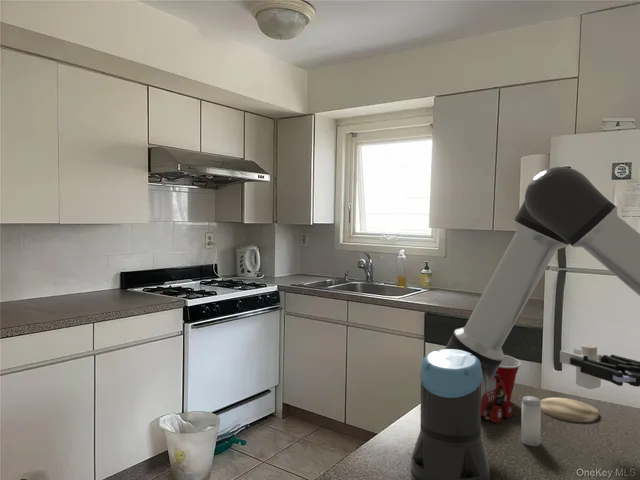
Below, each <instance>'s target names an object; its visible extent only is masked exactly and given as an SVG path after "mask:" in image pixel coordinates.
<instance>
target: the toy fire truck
mask: <svg viewBox="0 0 640 480" xmlns="http://www.w3.org/2000/svg"><path fill="white" fill-rule="evenodd" d="M513 414H514V404H513V402H511V401H510V402H509V401H507V392H506V389H505V385H504V382H503V381H502V380H501V377H500V375H498V374H495V375H494V376H493V378H492V380H491V382H490V384H489V385H488V387H487V389H486V391H485V394H484V396H483V398H482V402H481V417H489V419H490V421H491V422H492V423H495V424H499V423H501V422H502V419H503V417H504V418H507V419H511V417H512V415H513Z"/></svg>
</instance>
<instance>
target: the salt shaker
mask: <svg viewBox="0 0 640 480" xmlns="http://www.w3.org/2000/svg"><path fill="white" fill-rule="evenodd" d="M540 401H541V399H540V398H539V397H536V396H532V395H527V396H523V397H522V401H521V413H520V414H521V416H520V417H521V422H520V423H521V424H520V442H521V443H522V444H523V445H526V446H529V447H538V446H540V445H541V423H542V422H541V420H542V417H541V416H542V413H541V412H542V411H541V404H540Z"/></svg>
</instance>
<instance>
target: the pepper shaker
mask: <svg viewBox="0 0 640 480" xmlns="http://www.w3.org/2000/svg"><path fill="white" fill-rule="evenodd" d="M580 349H581V356H588V359H589V360H594V361H598V360H596V355H597V354H598V347H597V346H596V345H593V344H586V343H584V344H583V343H582V344H581V346H580ZM598 362H600V361H598ZM601 382H602V379H600V378H597V377H594V376H591V375H588V374H585V373H582V372H580V368H578V367H575V384H576V385H577V386H578V387H581V388H584V389H587V390H594V389H598V388H600V387H601V384H602V383H601Z"/></svg>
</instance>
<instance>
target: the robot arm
mask: <svg viewBox="0 0 640 480" xmlns="http://www.w3.org/2000/svg"><path fill="white" fill-rule="evenodd" d="M513 225H514V229H515V233H514V234H513V237H512V239H511V241H510V243H509V244H508V246H507V248H506V250H505V252H504V253H503V254H502V255H503V256H502V257H501V259H500V261H499V263H498V264H497V267H496V268H495V271H494V272H493V273H492V276H491V277H490V279H489V282H488V284H487V285H486V286H485V289H484V290H483V293H482V294H481V296H480V298H479V300H478V302H477V304H476V305H475V307H474V308H473V311H472V312H471V315H470V316H469V318H468V320H467V322H466V324H465V325H464V327H459V328H456V329H454V331H453V333H452V335H451V337H450V339H449V340H448V343H447V344H446V346H445V348H444V349H443V348H442V349H438V350H437V351H436V350H433V351H430V352H429V353H427V354H425V356H424V357H423V359H422V361H421V366H420V371H419V374H420V375H419V378H420V431H419V433H418V437H417V439H416V442H415V445H414V449H413V451H412V454H411V459H410V460H411V461H410V465H411V466H410V470H411V472H412V474H413V476H415V478H416V479H417V480H490V471H491V470H490V464H489V461H488V457H487V455H486V450H485V448H484V444H483V441H482V437H481V436H482V434H481V433H482V432H481V428H482V425H481V424H482V416H481V402H482V398H483V396H484V394H485V391H486V389H487V387H488V385H489V384H490V382H491V380H492V378H493V376H494V374H495V373H496V371H497V369H498V368H499V366H500V364H501V362H502V360H503V359H504V355H505V354H504V351H503V348H502V347H503V345H504V343H505V341H506V340H507V338H508V336H509V334H510V333H511V331H512V329H513V328H514V326H515V323H516V322H517V320H518V318H520V317H519V316H520V315H521V313H522V312H523V310H524V308H525V306H526V305H527V303H528V301H529V299H530V298H531V295H532V294H533V292H534V291H535V289H536V287H537V285H538V283H539V281H540V280H541V278H542V276H543V275H544V273H545V271H546V269H547V268H548V266H549V265H550V263H551V260H552V259H553V257H554V256H555V253H556V252H557V251H558V250H559V249H564V248H567V247H569V245H570V246H571V247H572V248H583V249H584V250H585V251H586V252H587V253H588V254H590V255H591V256H592V257H593V258H594V259H595V260H597V261H598V262H599V263H601V265H602V266H603V267H605V268H607V270H608V271H610V272H611V273H612V274H613V275H614V276H616V278H618V279H619V280H620V281H622V282H623V283H624V284H625V285H627V287H629V288H630V289H631V290H632V291H633V293H634V292H635V294H637V295H638V296H639V297H640V232H638V231H637V230H636V229H634V228H633V227H632V226H631V225H630V224H628V223H627V222H626V221H625V220H624V219H622V218H621V217H620V216H619V215H618V206H616V205H615V204H614V203H613V202H611V201H610V199H608V198H607V197H605V196H604V195H603V194H602V193H601V191H599V190H598V189H597V188H596V186H595V185H593V183H592V182H591V181H590V180H589V179H588V178H587V177H586V176H585V175H584V174H583V173H581V171H578V170H577V169H574V168H570V167H566V166H556V167H550V168H547V169H545V170H542V171H540V172H539V173H538V174H536V175H535V176H534V177H533V178H532V179H531V180H530V182H529V183H528V185H527V187H526V189H525V194H524V200H523V202H522V204H521V206H520V208H519V210H518V211H517V214H516V216H515V217H514V219H513ZM596 360H598V361H600V362H598V361H594V360H589V359H588V356H581V348H577V347H574V348H573V352H570V351H566V350H561V349H560V351H559V363H562V364H566V365H569V366H571V367H572V366H573V367H575V368H576V367H578V368H580V372H582V373H585V374H588V375H591V376H594V377H597V378H600V379H601V380H602V381H603V380H604V381H606V382H610V383H612V384H613V385H616V386H618V387H621V386H623V385H624V383H626V384H629V385H630V386H632V387H637V388H639V387H640V361H638V360H636V359H635V360H634V359H632V358H626V357H623V356H620V355H619V356H618V355H615V354H610V355H607V354H603V355H602V354H599V353H597V355H596Z"/></svg>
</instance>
